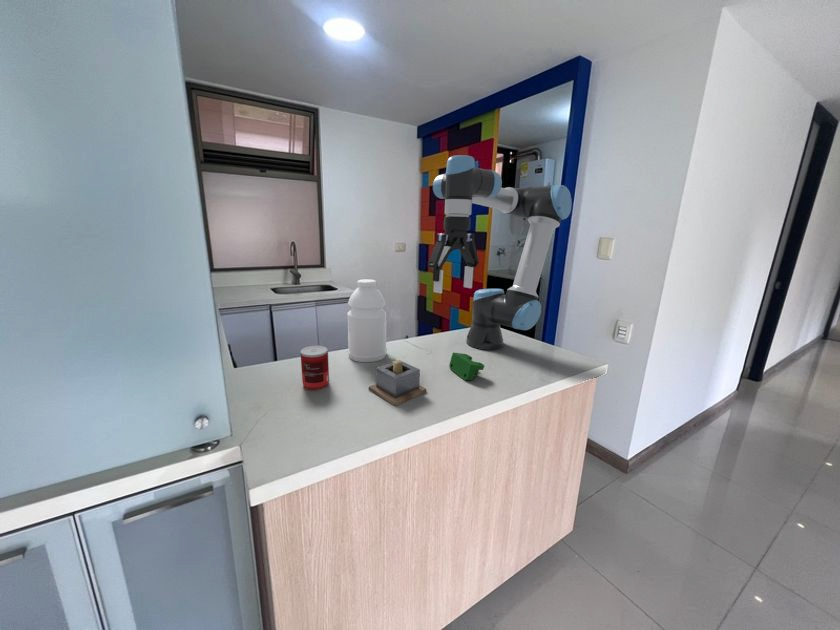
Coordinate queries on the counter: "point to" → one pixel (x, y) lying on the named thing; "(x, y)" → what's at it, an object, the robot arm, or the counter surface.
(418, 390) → the post
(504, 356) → the counter surface
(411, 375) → the ring
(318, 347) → the canned food
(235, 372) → the counter surface
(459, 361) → the clamp
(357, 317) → the bottle
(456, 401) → the counter surface
